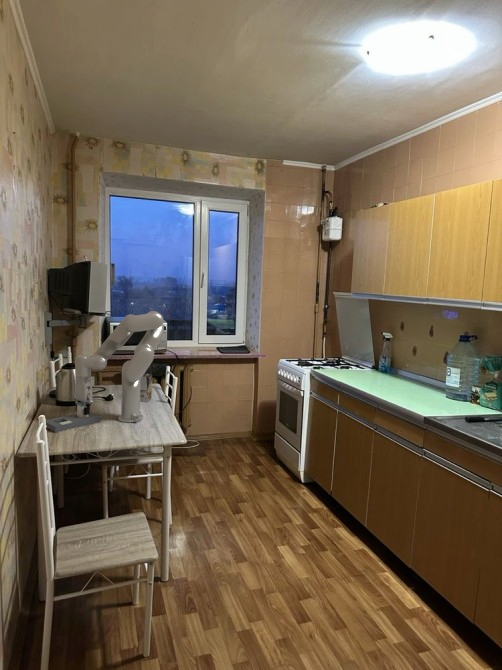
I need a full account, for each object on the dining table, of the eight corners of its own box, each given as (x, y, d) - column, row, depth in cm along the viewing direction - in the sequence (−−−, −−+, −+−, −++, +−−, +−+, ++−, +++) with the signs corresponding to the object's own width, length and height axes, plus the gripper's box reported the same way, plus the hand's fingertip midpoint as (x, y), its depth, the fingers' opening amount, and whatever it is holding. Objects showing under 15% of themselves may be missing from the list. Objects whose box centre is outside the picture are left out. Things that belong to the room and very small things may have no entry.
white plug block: (88, 421, 229) (88, 402, 228) (81, 423, 226) (81, 404, 224) (84, 420, 231) (84, 401, 230) (76, 421, 228) (77, 402, 227)
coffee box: (147, 402, 271) (148, 376, 269) (137, 401, 271) (138, 375, 269) (151, 398, 280) (152, 373, 278) (141, 397, 280) (142, 372, 278)
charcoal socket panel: (99, 421, 230) (99, 415, 229) (55, 432, 210) (55, 425, 210) (86, 416, 237) (86, 410, 236) (42, 426, 218) (42, 420, 217)
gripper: (99, 380, 224) (99, 415, 226) (80, 375, 234) (79, 408, 236) (86, 383, 218) (85, 418, 220) (66, 377, 228) (66, 411, 230)
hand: (82, 412), depth 228 cm, fingers open, 6 cm apart
